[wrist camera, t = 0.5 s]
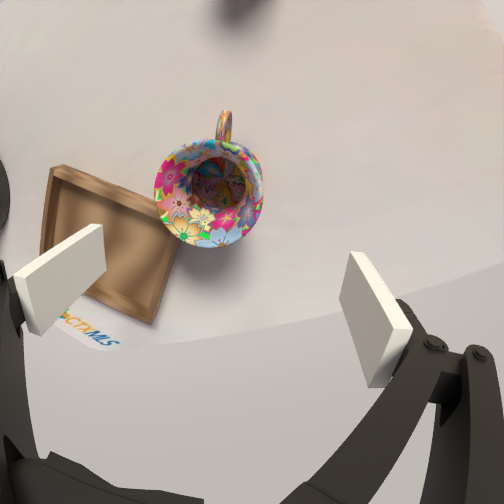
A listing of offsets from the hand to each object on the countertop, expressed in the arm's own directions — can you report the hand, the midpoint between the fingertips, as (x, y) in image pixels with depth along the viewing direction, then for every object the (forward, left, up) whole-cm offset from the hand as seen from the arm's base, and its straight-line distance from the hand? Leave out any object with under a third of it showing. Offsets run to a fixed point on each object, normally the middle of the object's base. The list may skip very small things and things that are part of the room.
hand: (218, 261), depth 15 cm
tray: (-15, -14, -21) cm, 29 cm away
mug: (-3, +1, -21) cm, 22 cm away
